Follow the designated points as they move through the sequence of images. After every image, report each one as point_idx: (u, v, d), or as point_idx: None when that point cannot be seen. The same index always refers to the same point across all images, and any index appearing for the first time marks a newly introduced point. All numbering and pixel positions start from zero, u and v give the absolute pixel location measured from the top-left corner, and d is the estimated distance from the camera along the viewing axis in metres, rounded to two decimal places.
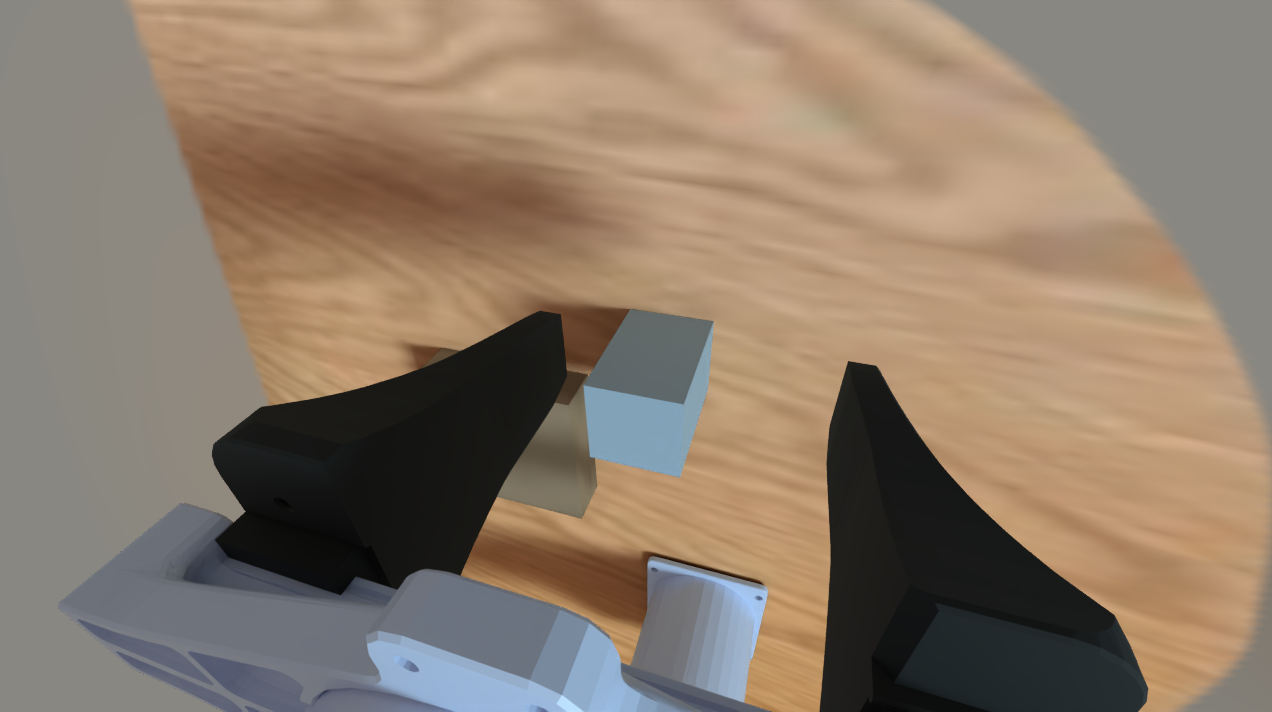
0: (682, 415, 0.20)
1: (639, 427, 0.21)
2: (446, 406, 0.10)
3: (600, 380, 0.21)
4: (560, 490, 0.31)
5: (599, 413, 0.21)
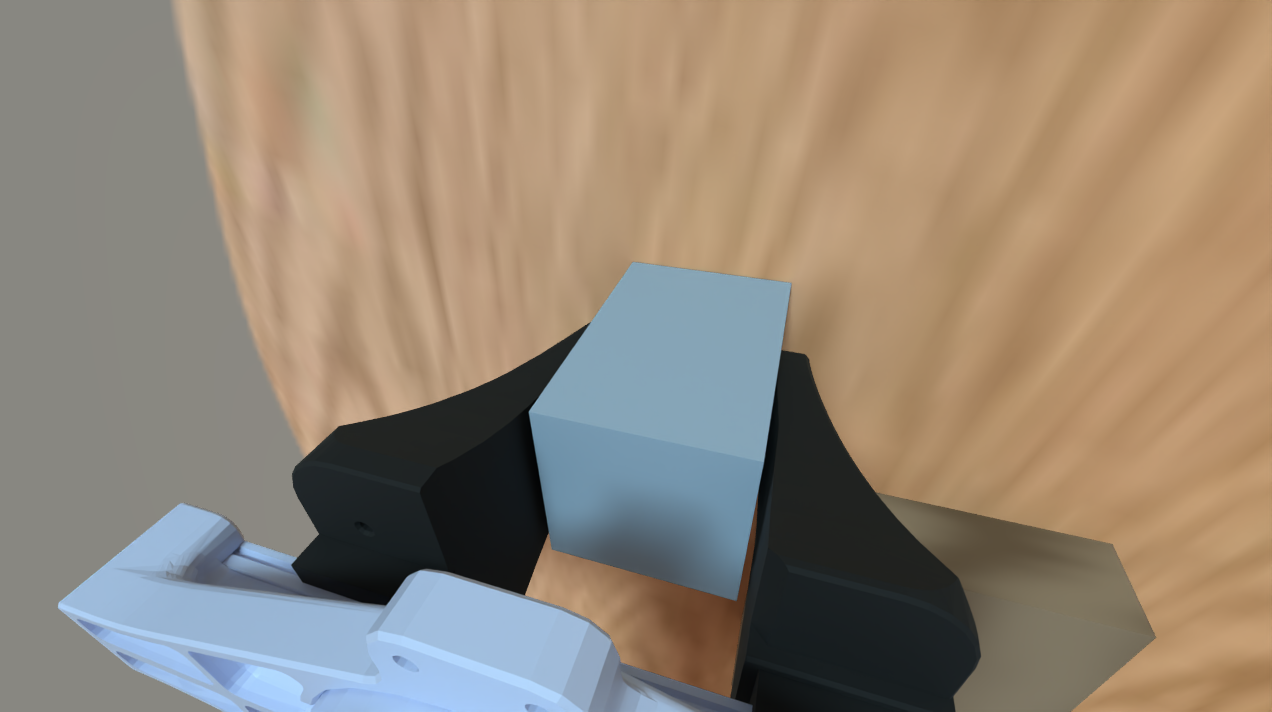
0: (559, 418, 0.09)
1: (622, 499, 0.10)
2: (521, 423, 0.09)
3: None
4: (1030, 635, 0.14)
5: (608, 548, 0.11)
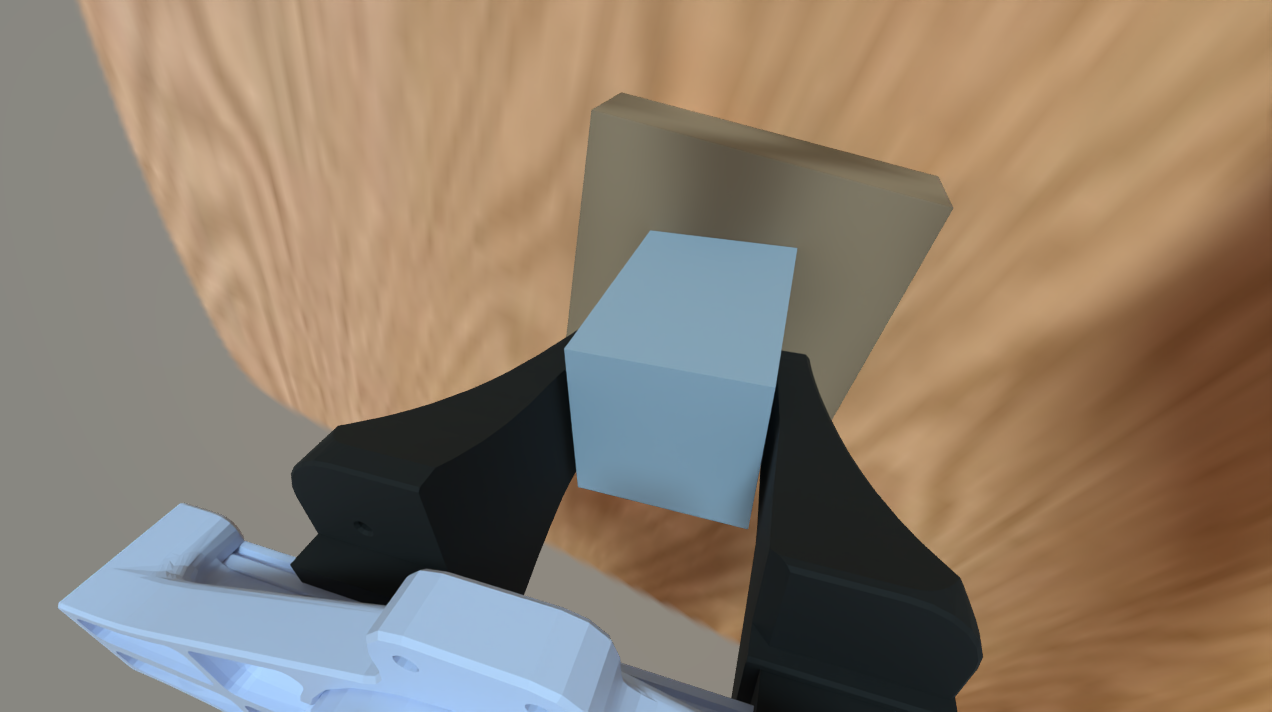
0: (592, 354, 0.10)
1: (645, 431, 0.11)
2: (520, 422, 0.09)
3: None
4: (840, 228, 0.13)
5: (631, 483, 0.12)
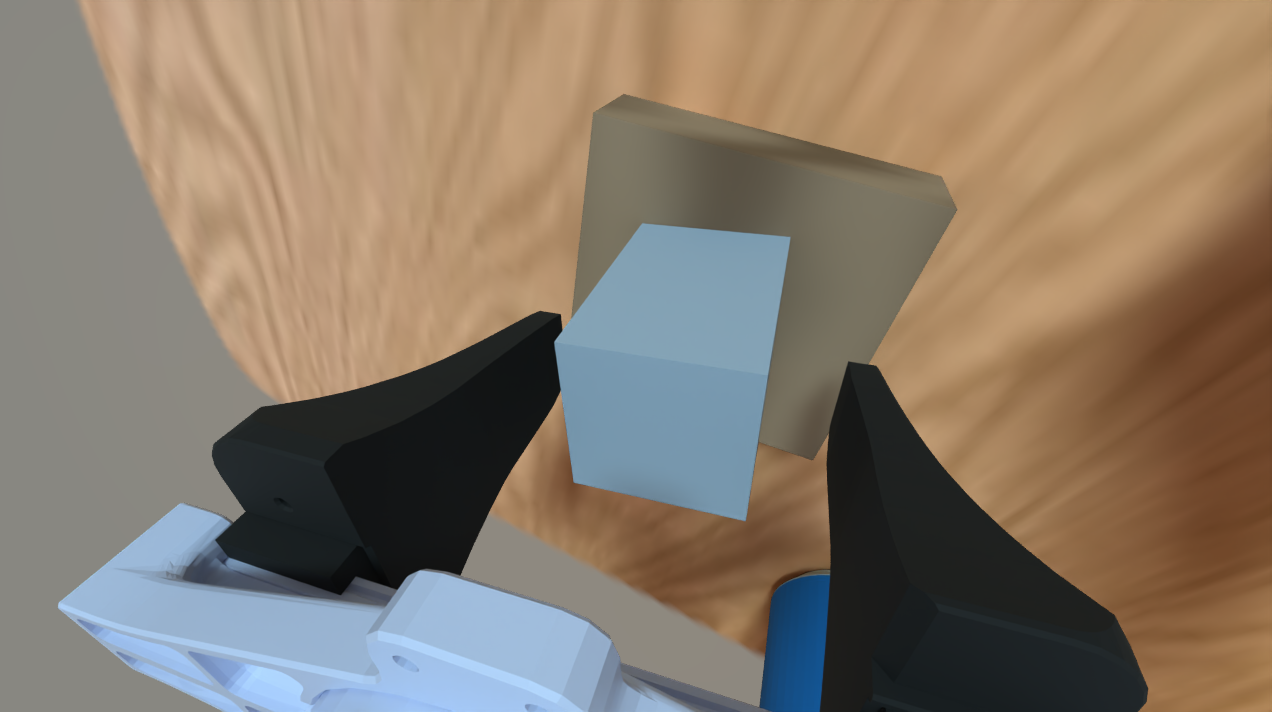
0: (582, 347, 0.10)
1: (639, 424, 0.11)
2: (446, 406, 0.10)
3: None
4: (844, 230, 0.13)
5: (626, 477, 0.12)
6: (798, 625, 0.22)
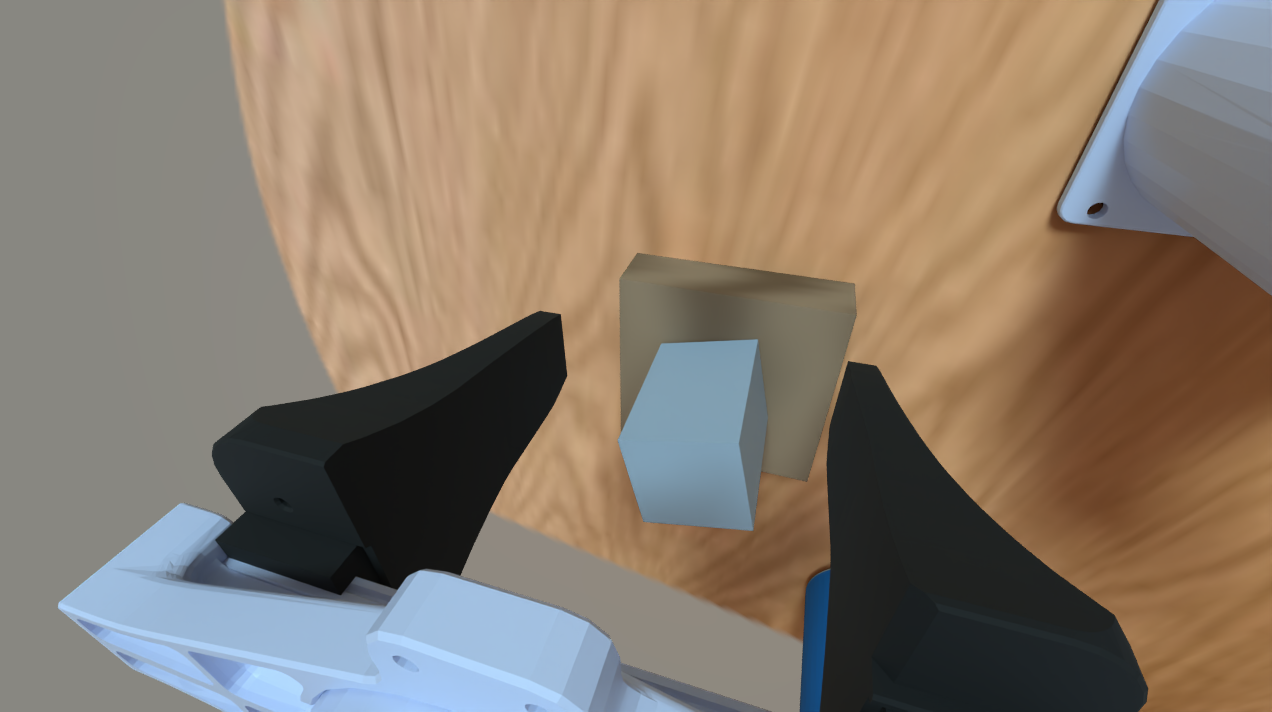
0: (634, 440, 0.18)
1: (675, 480, 0.18)
2: (446, 406, 0.10)
3: None
4: (789, 332, 0.20)
5: (675, 513, 0.19)
6: (824, 608, 0.29)
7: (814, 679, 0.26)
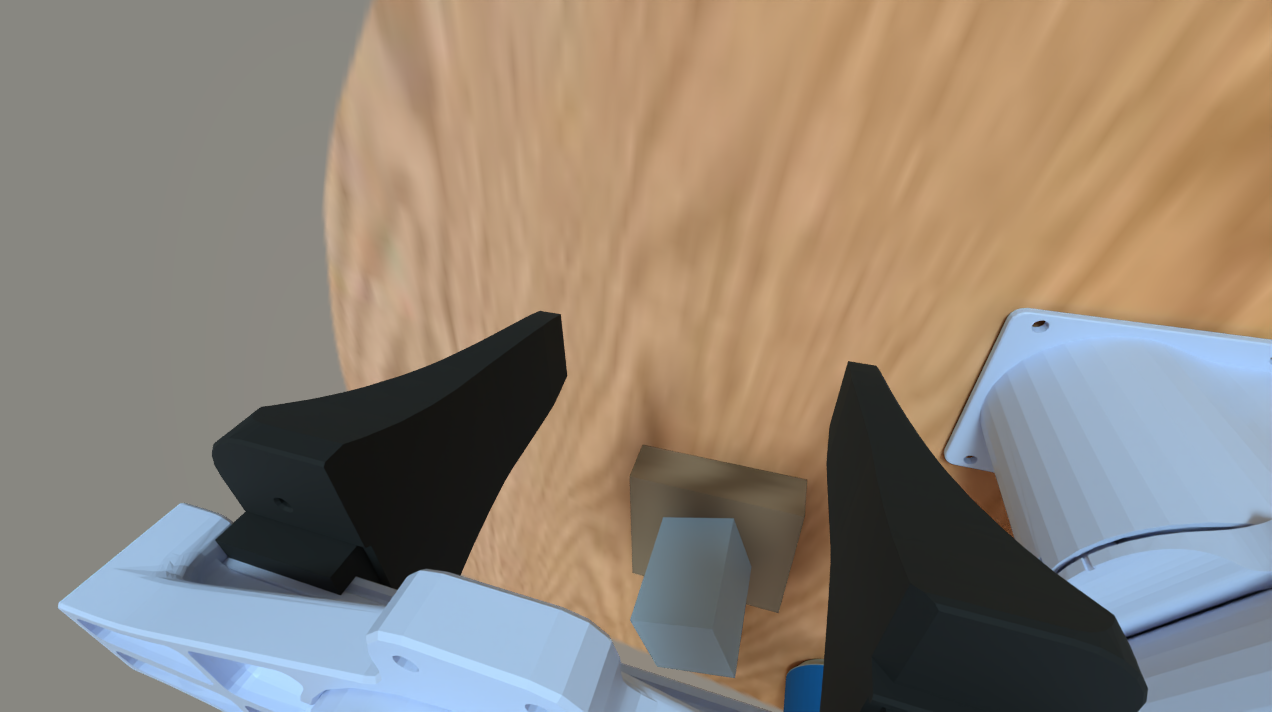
0: (641, 621, 0.25)
1: (674, 645, 0.25)
2: (446, 406, 0.10)
3: None
4: (757, 521, 0.27)
5: (678, 663, 0.26)
6: (798, 701, 0.35)
7: None
